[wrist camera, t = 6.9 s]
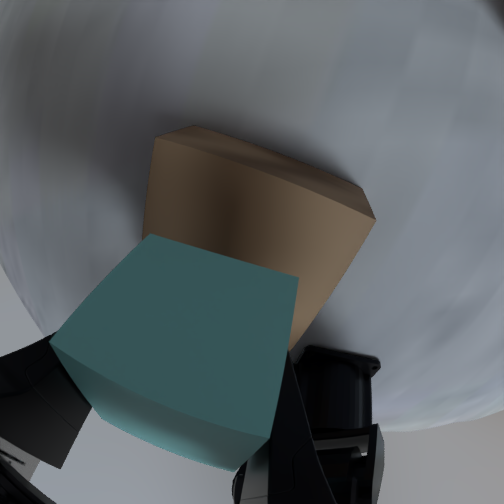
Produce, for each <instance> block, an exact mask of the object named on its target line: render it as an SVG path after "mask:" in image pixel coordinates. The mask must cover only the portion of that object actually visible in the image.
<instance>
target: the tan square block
mask: <svg viewBox="0 0 504 504" xmlns="http://www.w3.org/2000/svg"><path fill="white" fill-rule="evenodd" d="M375 222H376V218H375V216H374V214H373V211H372V209H371V207H370V204H369V202H368V200H367V198H366V196H365V193H364V191H363V189H361V188H359V187H357V186H355V185H353V184H351V183H349V182H347V181H344V180H342V179H340V178H338V177H336V176H333V175H331V174H329V173H326V172H324V171H322V170H320V169H317V168H315V167H312V166H310V165H308V164H305V163H303V162H300V161H298V160H295V159H293V158H290V157H287V156H285V155H282V154H280V153H277V152H274V151H272V150H269V149H266V148H263V147H260V146H258V145H255V144H252V143H249V142H246V141H243V140H240V139H237V138H234V137H231V136H227V135H224V134H221V133H218V132H214V131H211V130H208V129H204V128H201V127H197V126H194V125H193V126H190V127H186V128H183V129H179V130H176V131H173V132H170V133H167V134H164V135H161V136H158V137H155V142H154V148H153V153H152V159H151V166H150V172H149V179H148V187H147V195H146V203H145V212H144V223H143V234H142V240H144V239H145V238H146V237H147V236H148V235H149V234H150V233H151V234H154V235H157V236H160V237H164V238H167V239H170V240H174V241H177V242H180V243H183V244H187V245H190V246H193V247H197V248H200V249H204V250H207V251H210V252H214V253H217V254H220V255H224V256H227V257H230V258H234V259H237V260H241V261H244V262H247V263H251V264H254V265H258V266H261V267H265V268H268V269H272V270H275V271H278V272H282V273H285V274H289V275H292V276H296V277H299V281H298V288H297V295H296V302H295V308H294V315H293V321H292V327H291V333H290V339H289V345H288V350H289V352H290V351H291V349H292V348H293V347H294V346H295V344H296V343H297V341H298V340H299V339H300V337H301V336H302V335H303V333H304V332H305V331H306V329H307V328H308V326H309V325H310V324H311V322H312V321H313V319H314V318H315V317H316V315H317V314H318V312H319V311H320V309H321V308H322V307H323V305H324V304H325V302H326V301H327V299H328V298H329V296H330V295H331V293H332V292H333V290H334V289H335V287H336V286H337V284H338V283H339V281H340V280H341V278H342V276H343V275H344V273H345V272H346V270H347V269H348V267H349V265H350V264H351V262H352V261H353V259H354V257H355V256H356V254H357V252H358V251H359V249H360V248H361V246H362V244H363V243H364V241H365V239H366V237H367V236H368V234H369V232H370V231H371V229H372V227H373V225H374V224H375Z"/></svg>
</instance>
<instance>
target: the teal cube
mask: <svg viewBox="0 0 504 504" xmlns="http://www.w3.org/2000/svg"><path fill="white" fill-rule="evenodd" d="M298 281H299V277H296V276H292V275H289V274H285V273H282V272H278V271H275V270H272V269H268V268H265V267H261V266H258V265H254V264H251V263H247V262H244V261H241V260H237V259H234V258H230V257H227V256H224V255H220V254H217V253H214V252H210V251H207V250H204V249H200V248H197V247H193V246H190V245H187V244H183V243H180V242H177V241H174V240H170V239H167V238H164V237H160V236H157V235H154V234H151V233H150V234H149V235H148V236H147V237H146V238H145V239H144V240H142V241H141V242H140V243H139V244H138V245H137V246H136V247H135V248H134V249H133V250H132V251H131V252H130V253H129V254H128V255H127V256H126V257H125V258H124V259H123V260H122V261H121V262H120V263H119V264H118V265H117V266H116V267H115V268H114V269H113V270H112V271H111V272H110V273H109V274H108V275H107V276H106V277H105V279H104V280H103V281H102V282H101V283H100V284H99V285H98V286H97V287H96V288H95V289H94V290H93V291H92V292H91V293H90V295H89V296H88V297H87V298H86V299H85V300H84V301H83V302H82V303H81V305H80V306H79V307H78V308H77V309H76V310H75V311H74V312H73V314H72V315H71V316H70V317H69V318H68V319H67V321H66V322H65V323H64V324H63V325H62V327H61V328H60V329H59V330H58V331H57V333H56V334H55V335H54V336H53V337H52V339H51V340H50V341H49V343H50V345H51V346H52V348H53V350H54V351H55V353H56V355H57V356H58V358H59V360H60V361H61V363H62V365H63V366H64V368H65V369H66V371H67V372H68V374H69V375H70V377H71V378H72V380H73V381H74V383H75V384H76V385H77V387H78V388H79V390H80V391H81V392H82V394H83V395H84V397H85V398H86V399H87V401H88V402H89V403H90V404H91V406H92V407H93V408H94V410H95V411H96V412H97V413H98V414H99V416H100V417H101V418H102V419H103V420H105V421H107V422H109V423H110V424H112V425H114V426H116V427H118V428H119V429H121V430H123V431H125V432H127V433H129V434H131V435H133V436H135V437H138V438H140V439H142V440H144V441H146V442H149V443H151V444H153V445H155V446H157V447H160V448H162V449H165V450H167V451H170V452H172V453H175V454H177V455H180V456H183V457H185V458H188V459H191V460H194V461H197V462H200V463H203V464H206V465H210V466H213V467H216V468H220V469H223V470H227V471H231V472H235V471H236V470H237V469H238V468H239V467H240V466H241V465H242V464H244V463H245V462H246V461H247V460H248V459H249V458H250V457H251V456H252V455H253V454H254V453H255V452H256V451H257V450H258V449H259V448H260V447H261V446H262V445H263V444H264V443H265V442H266V441H267V440H268V439H269V438H270V434H271V430H272V425H273V421H274V416H275V411H276V407H277V402H278V397H279V392H280V387H281V382H282V377H283V372H284V367H285V361H286V356H287V350H288V345H289V339H290V333H291V327H292V321H293V315H294V308H295V302H296V295H297V288H298Z"/></svg>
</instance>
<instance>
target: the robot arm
mask: <svg viewBox="0 0 504 504" xmlns="http://www.w3.org/2000/svg"><path fill="white" fill-rule="evenodd" d="M56 333H57V331H56V332H54V333H53V334H52V335H49V336H47V337H45V338H43V339H41V340H39V341H37V342H35V343H33V344H31V345H29V346H26V347H24V348H22V349H19V350H17V351H15V352H12V353H10V354H7V355H4V356H2V357H0V504H56V503H55V502H54V501H52V500H51V499H50V498H48V497H47V496H46V495H45V494H43V493H42V492H41V491H39V490H38V489H37V488H36V487H35V486H33V485H32V484H31V483H30V482H29V481H30V479H31V477H32V475H33V473H34V471H35V469H36V467H37V465H38V464H39V462H40V460H41V461H44V462H46V463H48V464H50V465H52V466H54V467H56V468H58V469H61V467H62V466H63V463H64V461H65V459H66V457H67V455H68V453H69V451H70V449H71V447H72V445H73V443H74V441H75V439H76V437H77V435H78V433H79V431H80V429H81V427H82V425H83V423H84V421H85V419H86V418H87V416H88V414H89V412H90V410H91V408H92V406H91V404H90V403H89V402H88V401H87V399H86V398H85V397H84V395H83V394H82V392H81V391H80V390H79V388H78V387H77V385H76V384H75V383H74V381H73V380H72V378H71V377H70V375H69V374H68V372H67V371H66V369H65V368H64V366H63V365H62V363H61V361H60V360H59V358H58V356H57V355H56V353H55V351H54V350H53V348H52V346H51V345H50V343H49V341H50V340H51V339H52V337H53V336H54V335H55V334H56ZM380 368H381V365H380V361H378V360H373V359H368V358H363V357H358V356H353V355H348V354H343V353H339V352H334V351H330V350H326V349H321V348H317V347H313V346H308V347H305V348H304V350H303V352H302V353H301V355H300V357H299V359H298V360H297V362H296V364H295V363H293V364H292V361H291V357H290V353H289V350H287V356H286V361H285V367H284V372H283V377H282V382H281V387H280V392H279V397H278V402H277V407H276V411H275V416H274V421H273V425H272V430H271V434H270V438H269V439H268V440H267V441H266V442H265V443H264V444H263V445H262V446H261V447H260V448H259V449H258V450H257V451H256V452H255V453H254V454H253V455H252V456H251V457H250V458H249V459H248V460H247V461H246V462H245V463H244V464H242V465H241V467H240V468H239V470H238V472H237V473H236V475H235V478H234V479H233V485H232V496H233V499H234V504H377V500H378V496H379V491H380V486H381V481H382V476H383V471H384V440H383V437H382V434H381V431H380V428H379V425H378V423H377V424H372V391H371V378H372V377H373V376H374V375H375V374H376V372H377V371H378V370H379V369H380ZM364 452H367V455H366V456H362V455H361V453H364Z"/></svg>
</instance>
